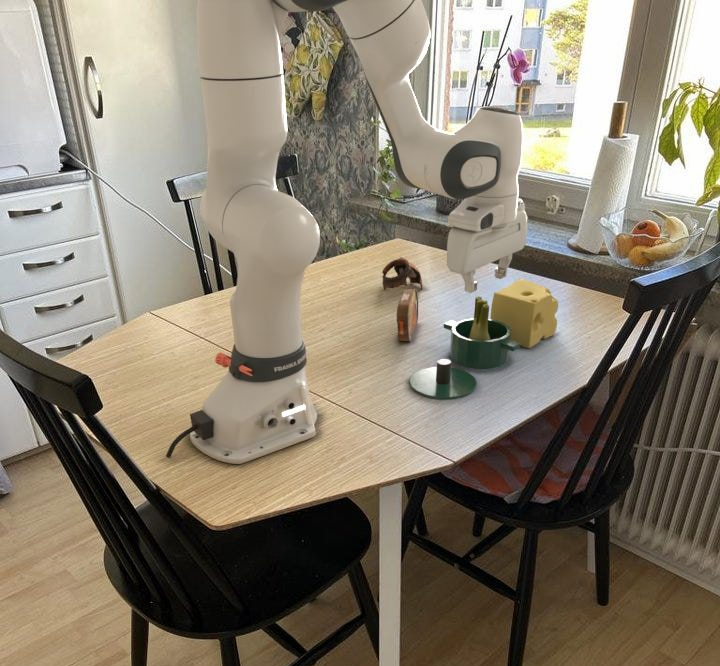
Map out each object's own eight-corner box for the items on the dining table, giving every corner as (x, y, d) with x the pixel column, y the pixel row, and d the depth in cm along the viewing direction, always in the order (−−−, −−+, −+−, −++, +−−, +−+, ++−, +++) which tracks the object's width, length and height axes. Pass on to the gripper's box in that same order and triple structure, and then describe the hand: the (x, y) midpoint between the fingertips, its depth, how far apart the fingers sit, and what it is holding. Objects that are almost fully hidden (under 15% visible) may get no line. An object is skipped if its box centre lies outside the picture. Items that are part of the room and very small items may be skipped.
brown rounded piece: (429, 295, 174) (415, 270, 168) (393, 312, 176) (379, 288, 170) (420, 267, 181) (407, 242, 175) (387, 283, 184) (373, 259, 178)
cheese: (555, 334, 153) (562, 289, 147) (528, 350, 146) (534, 304, 141) (514, 322, 159) (519, 277, 153) (486, 337, 152) (490, 291, 146)
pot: (496, 381, 136) (499, 351, 132) (428, 356, 145) (429, 326, 142) (530, 361, 142) (534, 332, 139) (462, 338, 152) (464, 310, 148)
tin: (409, 348, 148) (410, 309, 144) (394, 347, 149) (394, 308, 144) (419, 320, 160) (420, 283, 156) (405, 319, 161) (405, 282, 156)
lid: (448, 409, 127) (449, 383, 124) (396, 387, 134) (396, 362, 132) (489, 385, 134) (491, 360, 132) (437, 365, 142) (439, 341, 139)
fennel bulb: (468, 350, 146) (473, 293, 139) (493, 352, 145) (498, 295, 138) (464, 362, 142) (468, 304, 135) (489, 365, 141) (494, 306, 134)
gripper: (510, 193, 135) (503, 266, 143) (441, 217, 123) (439, 295, 131) (539, 199, 131) (530, 273, 139) (471, 224, 119) (466, 303, 127)
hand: (485, 284), depth 135 cm, fingers open, 8 cm apart
